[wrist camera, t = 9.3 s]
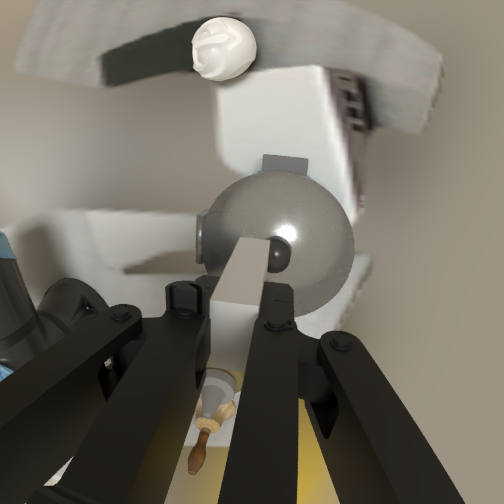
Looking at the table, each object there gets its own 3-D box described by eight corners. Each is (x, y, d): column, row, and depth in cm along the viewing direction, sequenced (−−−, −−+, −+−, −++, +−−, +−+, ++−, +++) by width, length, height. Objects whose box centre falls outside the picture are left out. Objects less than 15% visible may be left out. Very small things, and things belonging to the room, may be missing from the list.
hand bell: (194, 416, 54) (173, 480, 39) (188, 387, 51) (162, 456, 36) (236, 420, 53) (222, 488, 38) (234, 392, 51) (217, 465, 36)
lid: (337, 323, 32) (339, 337, 29) (197, 301, 34) (188, 314, 32) (364, 182, 27) (369, 186, 24) (200, 164, 29) (189, 166, 27)
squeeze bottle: (203, 301, 45) (161, 385, 28) (259, 300, 44) (241, 391, 27) (211, 345, 47) (179, 433, 31) (262, 346, 46) (249, 439, 30)
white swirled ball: (198, 35, 32) (179, 14, 25) (256, 27, 31) (249, 3, 24) (201, 89, 35) (181, 78, 28) (261, 83, 34) (255, 68, 27)
